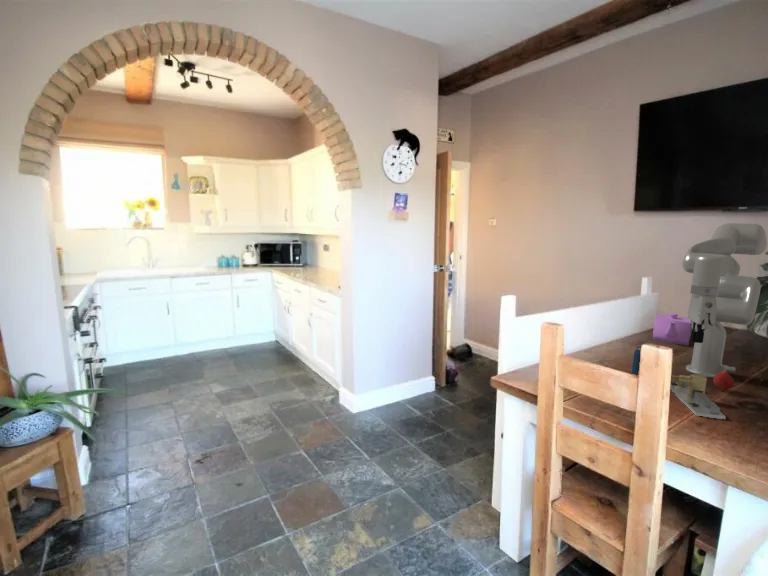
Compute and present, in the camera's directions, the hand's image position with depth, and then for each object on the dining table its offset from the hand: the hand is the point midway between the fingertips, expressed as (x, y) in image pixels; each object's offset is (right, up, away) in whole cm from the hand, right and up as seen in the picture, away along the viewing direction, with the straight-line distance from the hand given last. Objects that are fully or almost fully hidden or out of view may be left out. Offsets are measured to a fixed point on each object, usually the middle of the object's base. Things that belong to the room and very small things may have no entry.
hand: (696, 341), depth 145 cm
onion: (+13, -19, +5) cm, 24 cm away
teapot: (+37, -8, +66) cm, 76 cm away
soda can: (-9, -17, +16) cm, 25 cm away
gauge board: (-4, -20, -3) cm, 21 cm away
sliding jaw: (-3, -18, -2) cm, 19 cm away
